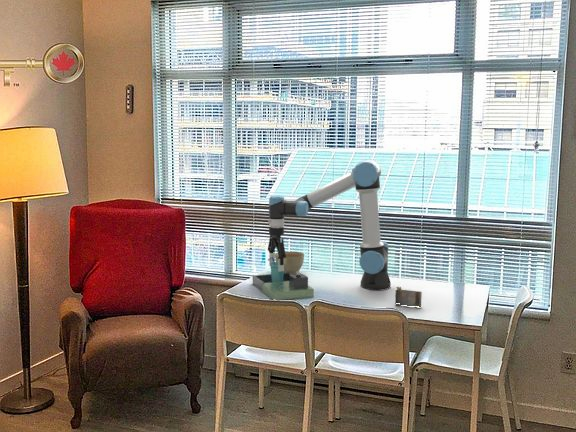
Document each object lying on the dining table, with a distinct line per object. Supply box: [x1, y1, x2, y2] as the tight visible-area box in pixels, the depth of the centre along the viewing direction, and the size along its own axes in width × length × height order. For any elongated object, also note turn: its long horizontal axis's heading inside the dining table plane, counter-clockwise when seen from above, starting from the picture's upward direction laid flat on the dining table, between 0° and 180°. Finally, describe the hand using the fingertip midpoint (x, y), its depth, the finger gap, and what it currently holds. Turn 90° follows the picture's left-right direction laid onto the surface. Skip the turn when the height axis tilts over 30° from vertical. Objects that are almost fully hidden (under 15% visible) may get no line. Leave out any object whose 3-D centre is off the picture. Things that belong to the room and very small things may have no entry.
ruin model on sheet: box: [394, 286, 423, 308], centre depth 292 cm, size 11×3×10 cm, turn 68°
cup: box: [267, 257, 287, 282], centre depth 326 cm, size 14×8×15 cm, turn 147°
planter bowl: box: [275, 251, 305, 275], centre depth 354 cm, size 16×16×11 cm
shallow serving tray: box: [252, 270, 315, 300], centre depth 319 cm, size 33×20×11 cm, turn 21°
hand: (276, 268), depth 326 cm, fingers open, 13 cm apart
